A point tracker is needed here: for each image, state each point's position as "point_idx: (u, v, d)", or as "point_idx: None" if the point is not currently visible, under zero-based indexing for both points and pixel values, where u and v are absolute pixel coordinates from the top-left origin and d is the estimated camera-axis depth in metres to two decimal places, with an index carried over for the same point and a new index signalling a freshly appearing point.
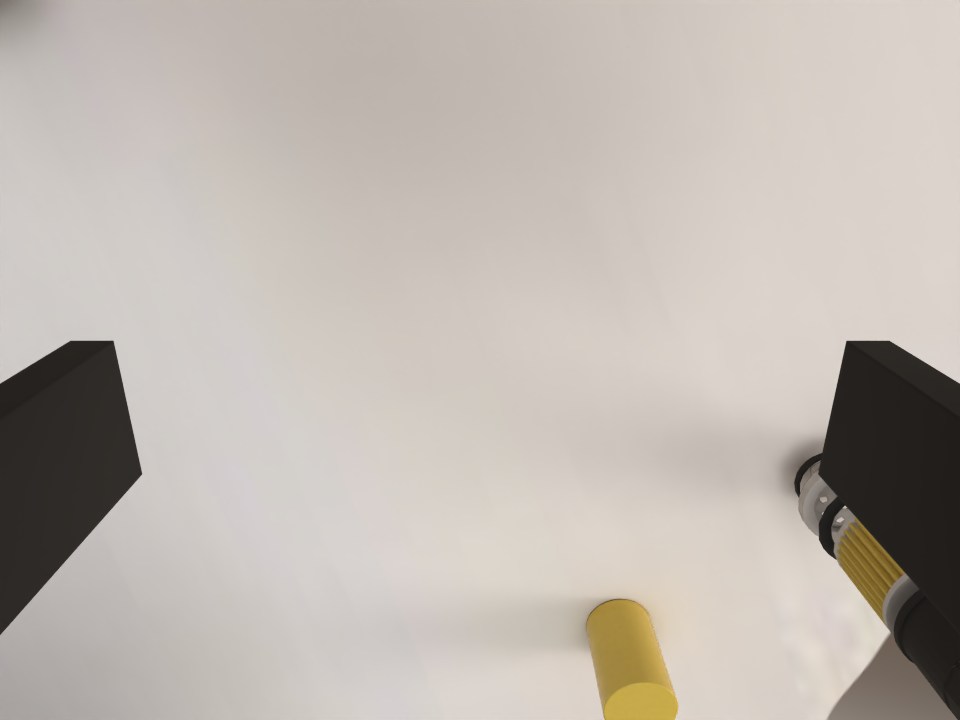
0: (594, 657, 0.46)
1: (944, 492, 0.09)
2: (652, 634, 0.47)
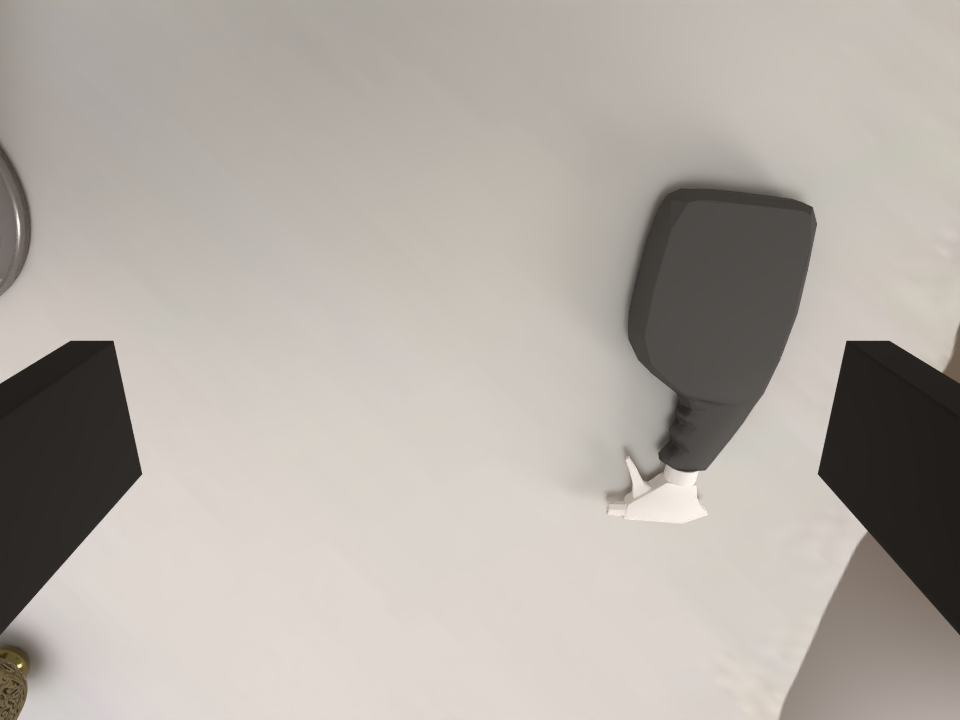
0: None
1: (944, 492, 0.09)
2: None
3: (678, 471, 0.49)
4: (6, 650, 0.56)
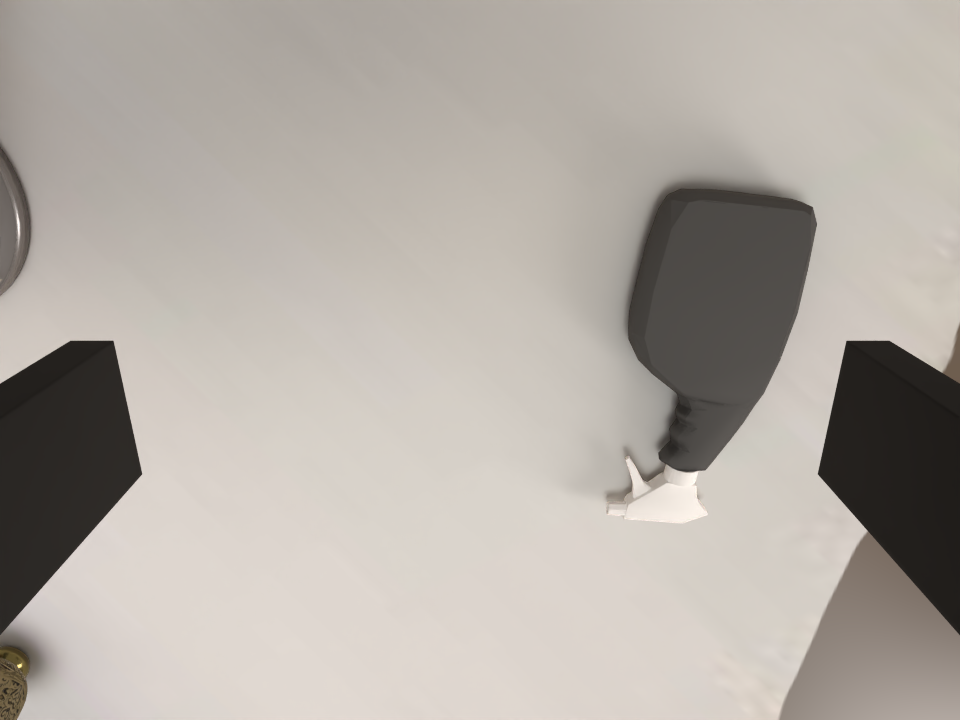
0: None
1: (944, 492, 0.09)
2: None
3: (678, 471, 0.49)
4: (6, 650, 0.56)
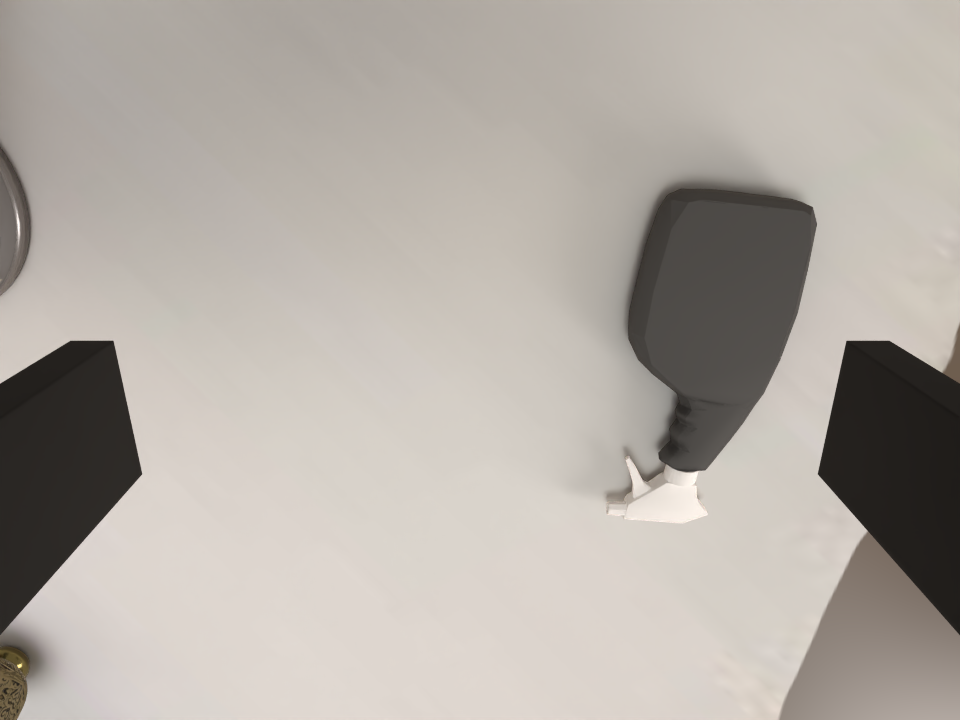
0: None
1: (944, 492, 0.09)
2: None
3: (678, 471, 0.49)
4: (6, 650, 0.56)
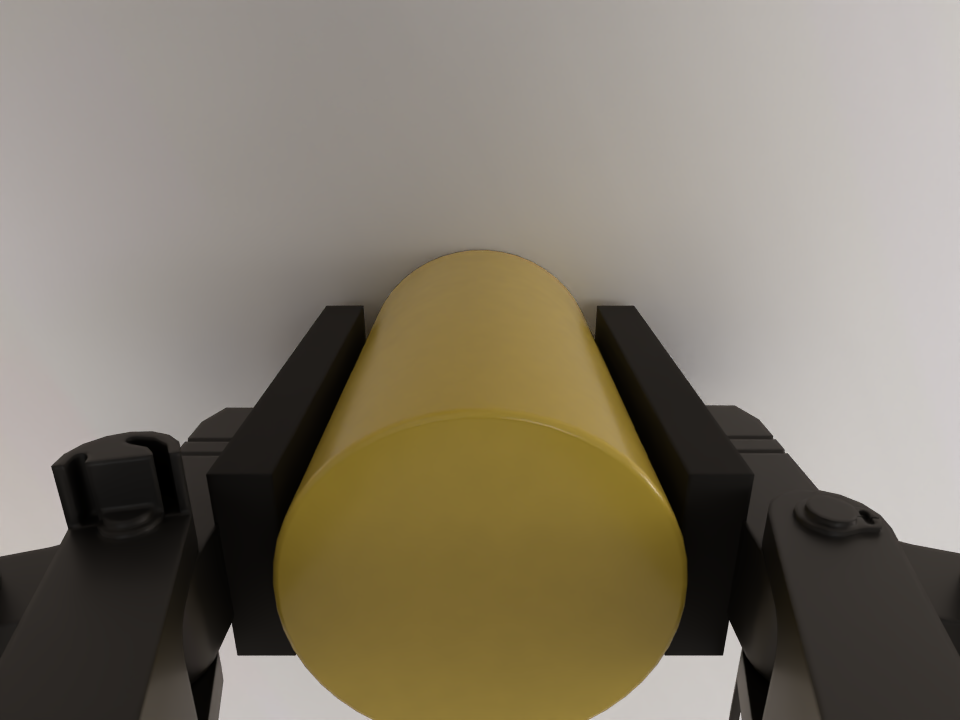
0: None
1: None
2: (436, 291, 0.11)
3: None
4: None
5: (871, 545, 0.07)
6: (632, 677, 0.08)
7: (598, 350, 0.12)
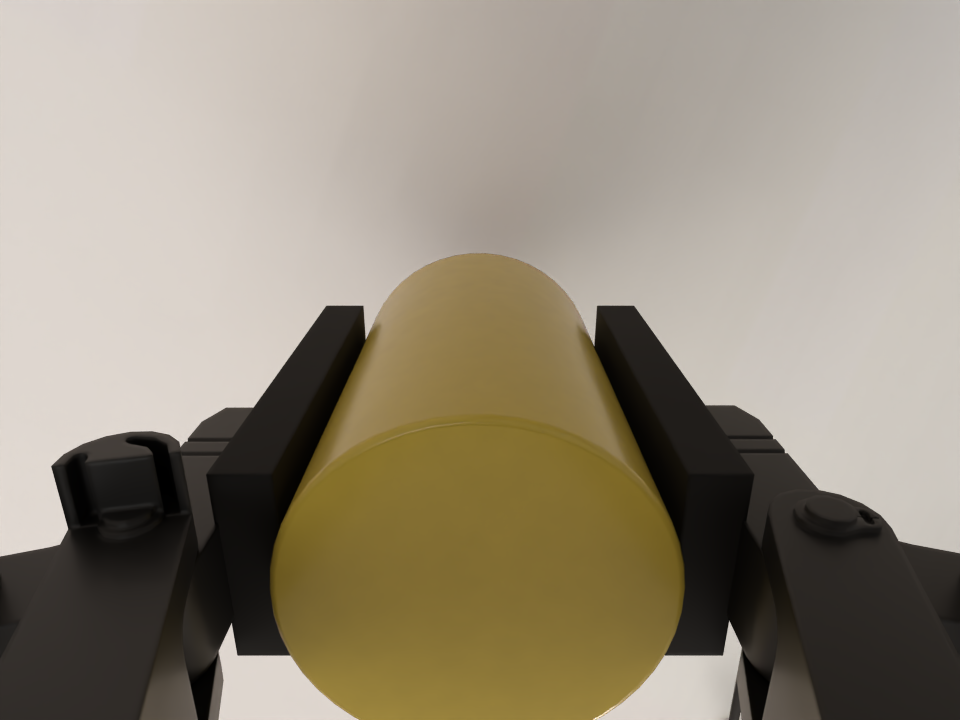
0: None
1: None
2: (434, 294, 0.11)
3: None
4: None
5: (871, 545, 0.07)
6: (628, 682, 0.08)
7: (596, 354, 0.12)
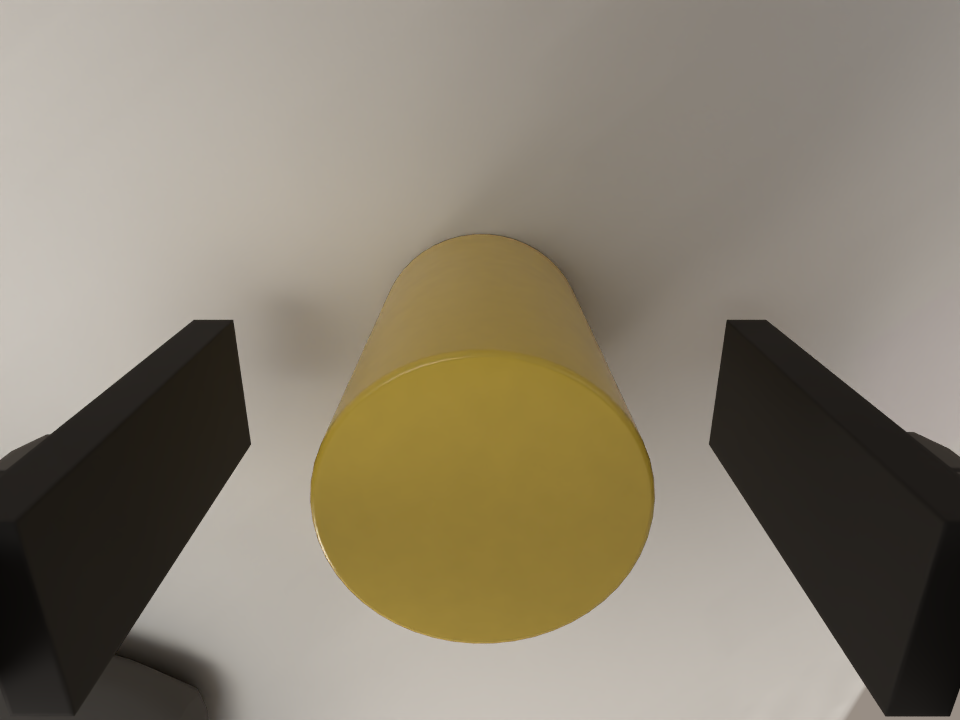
0: None
1: (785, 450, 0.10)
2: (443, 267, 0.13)
3: None
4: None
5: None
6: (610, 582, 0.10)
7: (585, 319, 0.13)
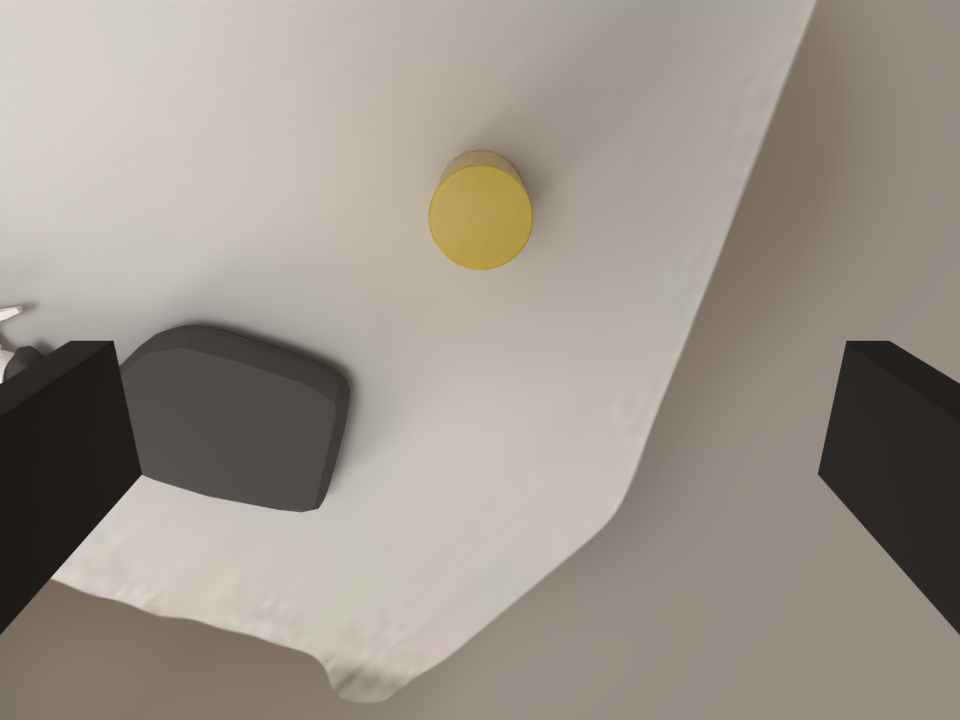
0: None
1: (944, 492, 0.09)
2: (466, 157, 0.34)
3: (3, 370, 0.39)
4: None
5: None
6: (520, 245, 0.31)
7: None
